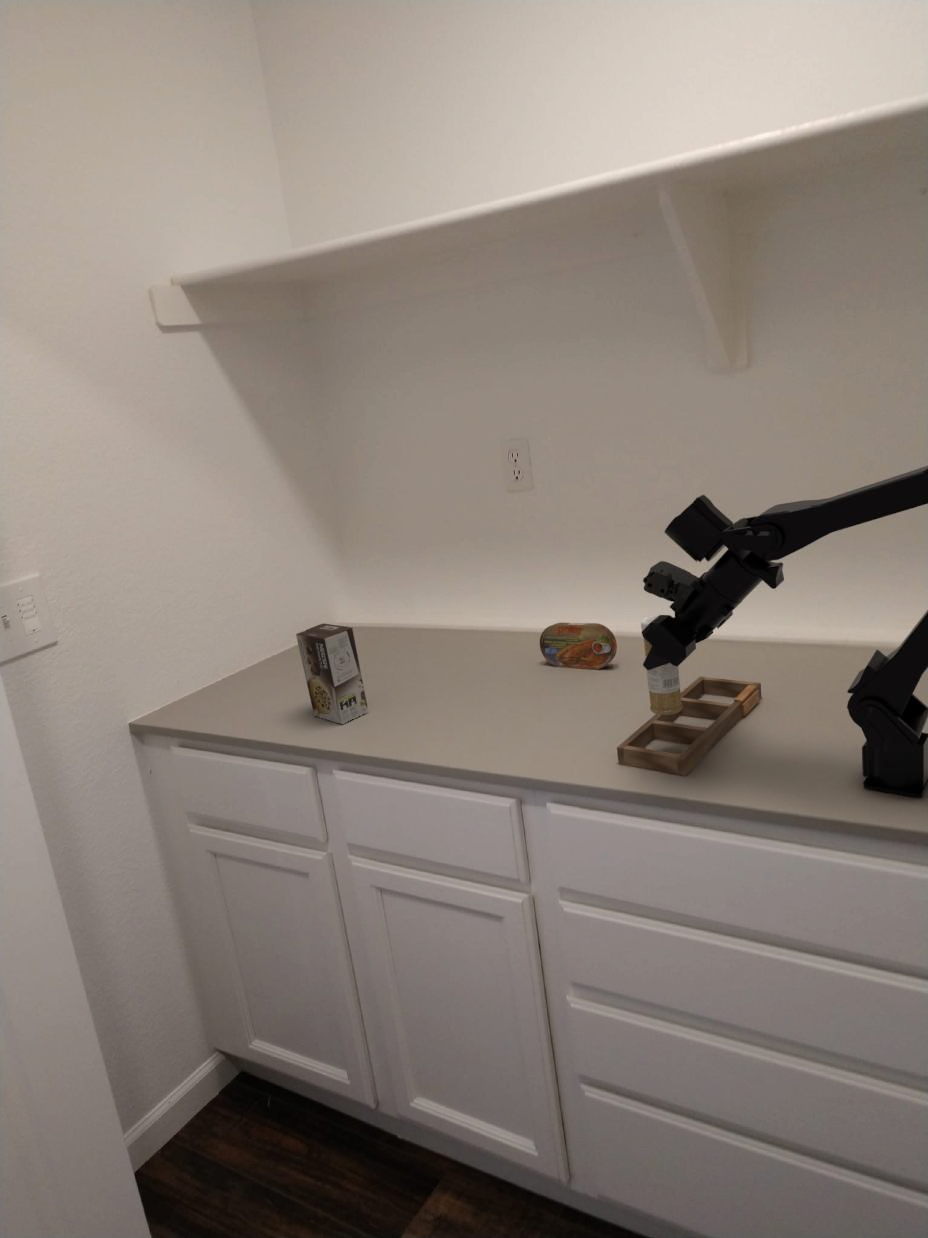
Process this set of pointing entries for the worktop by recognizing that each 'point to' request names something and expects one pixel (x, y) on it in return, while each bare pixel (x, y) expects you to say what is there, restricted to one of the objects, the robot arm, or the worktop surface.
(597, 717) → the worktop surface
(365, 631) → the worktop surface
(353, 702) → the coffee box
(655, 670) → the sprinkles bottle
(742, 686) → the rack
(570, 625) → the tin
